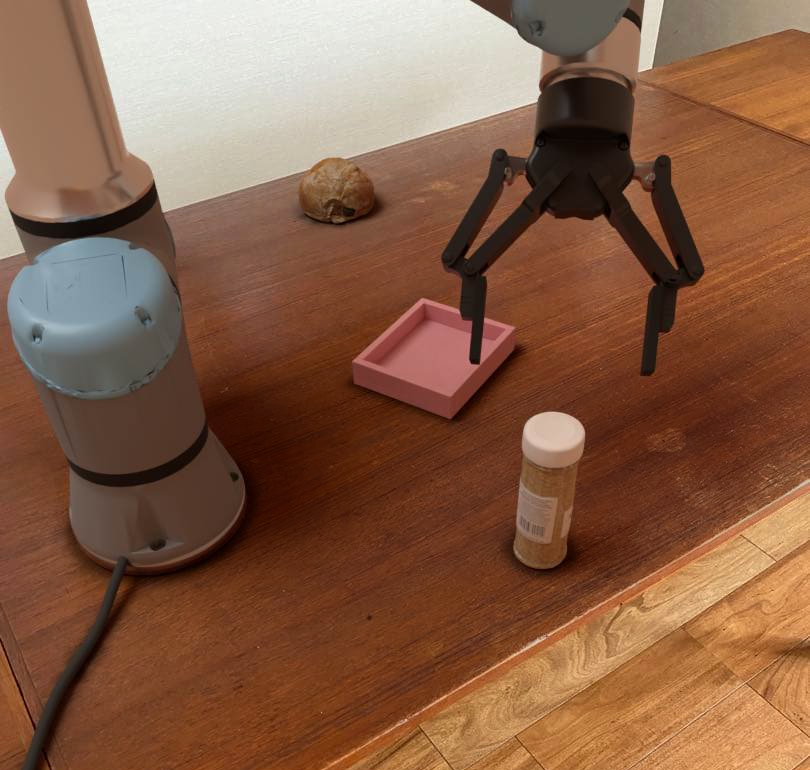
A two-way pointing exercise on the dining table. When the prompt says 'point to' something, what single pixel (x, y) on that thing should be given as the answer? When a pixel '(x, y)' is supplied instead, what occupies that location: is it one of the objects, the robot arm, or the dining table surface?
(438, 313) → the pink tray
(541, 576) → the dining table surface
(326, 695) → the dining table surface
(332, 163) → the bread roll
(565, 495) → the spice jar
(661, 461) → the dining table surface
